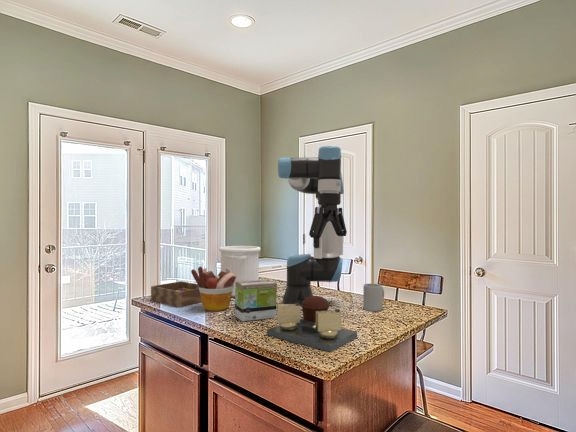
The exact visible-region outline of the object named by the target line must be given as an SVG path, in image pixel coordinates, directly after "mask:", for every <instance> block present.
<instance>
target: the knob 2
mask: <svg viewBox="0 0 576 432" xmlns="http://www.w3.org/2000/svg"><path fill="white" fill-rule="evenodd" d="M341 328H342V311H341V309H339V308H335V310H334V309H332V310H328V311H316V330H317V331H318V332H319V336H320V337H322V338H327V339H332V338H336V337H337V330H341Z"/></svg>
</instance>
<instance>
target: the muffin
mask: <svg viewBox="0 0 576 432" xmlns="http://www.w3.org/2000/svg"><path fill="white" fill-rule="evenodd" d="M330 306H331V305H330V304H329V301H328V300H327V299H325V298H324V297H323V296H320V295H313V296H310V297H308V298H306V299H305V300H304V301H303V302H302V304H301V306H300V308H301V311H302V320H306V321H310V322H316V311H329V308H330Z"/></svg>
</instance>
